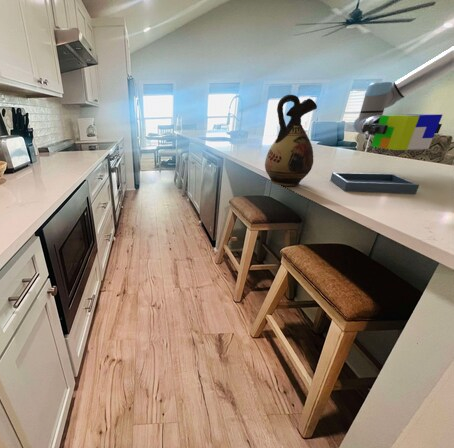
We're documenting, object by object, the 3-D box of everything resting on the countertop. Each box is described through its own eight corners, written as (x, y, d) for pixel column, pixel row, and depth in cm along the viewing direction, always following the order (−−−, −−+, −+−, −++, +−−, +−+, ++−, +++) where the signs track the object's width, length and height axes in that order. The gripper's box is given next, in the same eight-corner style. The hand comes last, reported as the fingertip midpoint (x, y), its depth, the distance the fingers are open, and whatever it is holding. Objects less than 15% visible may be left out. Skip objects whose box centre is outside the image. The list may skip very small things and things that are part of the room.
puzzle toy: (428, 148, 76) (442, 114, 72) (395, 150, 77) (408, 116, 73) (400, 145, 86) (411, 114, 81) (371, 146, 86) (380, 115, 82)
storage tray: (390, 182, 86) (393, 173, 85) (415, 194, 74) (419, 184, 73) (330, 180, 92) (332, 172, 91) (344, 191, 79) (346, 182, 78)
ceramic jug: (296, 178, 97) (313, 94, 85) (316, 188, 83) (340, 90, 71) (253, 178, 99) (263, 96, 87) (265, 189, 85) (279, 93, 73)
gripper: (414, 135, 92) (457, 141, 74) (338, 136, 99) (360, 142, 81) (423, 113, 89) (469, 114, 70) (344, 116, 96) (367, 117, 78)
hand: (411, 129), depth 76 cm, fingers closed on puzzle toy, 12 cm apart
